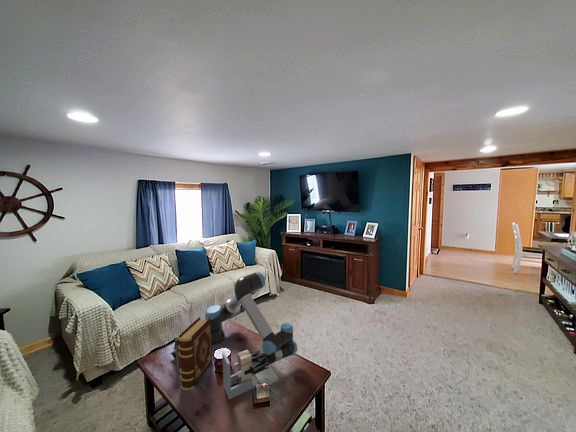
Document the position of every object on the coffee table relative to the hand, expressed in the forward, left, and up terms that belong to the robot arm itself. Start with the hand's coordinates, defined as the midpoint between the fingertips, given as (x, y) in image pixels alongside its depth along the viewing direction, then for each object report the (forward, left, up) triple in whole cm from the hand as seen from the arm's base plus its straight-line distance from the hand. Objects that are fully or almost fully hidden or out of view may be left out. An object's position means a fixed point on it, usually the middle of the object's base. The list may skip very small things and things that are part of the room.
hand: (236, 370), depth 128 cm
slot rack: (0, +1, -11) cm, 11 cm away
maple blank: (0, +5, -10) cm, 12 cm away
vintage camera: (-40, -23, -11) cm, 47 cm away
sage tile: (0, +17, -11) cm, 20 cm away
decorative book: (-22, -17, -11) cm, 30 cm away
